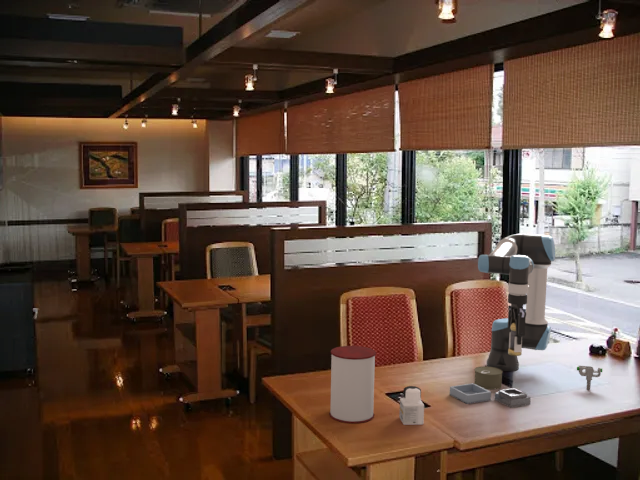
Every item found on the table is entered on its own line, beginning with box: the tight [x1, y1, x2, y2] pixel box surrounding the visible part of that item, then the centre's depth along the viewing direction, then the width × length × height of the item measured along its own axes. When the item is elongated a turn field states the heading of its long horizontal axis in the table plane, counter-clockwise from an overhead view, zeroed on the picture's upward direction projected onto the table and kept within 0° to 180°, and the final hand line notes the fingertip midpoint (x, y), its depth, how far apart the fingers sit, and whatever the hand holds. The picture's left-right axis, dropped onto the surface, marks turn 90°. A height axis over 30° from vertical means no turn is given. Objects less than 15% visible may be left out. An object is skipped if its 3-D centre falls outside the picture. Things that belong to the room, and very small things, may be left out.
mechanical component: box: [576, 365, 603, 391], centre depth 298 cm, size 3×10×10 cm, turn 79°
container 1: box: [328, 345, 377, 424], centre depth 262 cm, size 17×17×25 cm
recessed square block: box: [494, 387, 532, 409], centre depth 280 cm, size 10×10×4 cm
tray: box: [449, 382, 492, 405], centre depth 285 cm, size 12×12×4 cm
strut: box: [508, 322, 523, 357], centre depth 278 cm, size 5×5×13 cm
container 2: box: [398, 385, 425, 426], centre depth 257 cm, size 8×8×13 cm
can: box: [474, 365, 504, 391], centre depth 301 cm, size 12×12×7 cm
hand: (515, 349), depth 278 cm, fingers closed on strut, 5 cm apart
